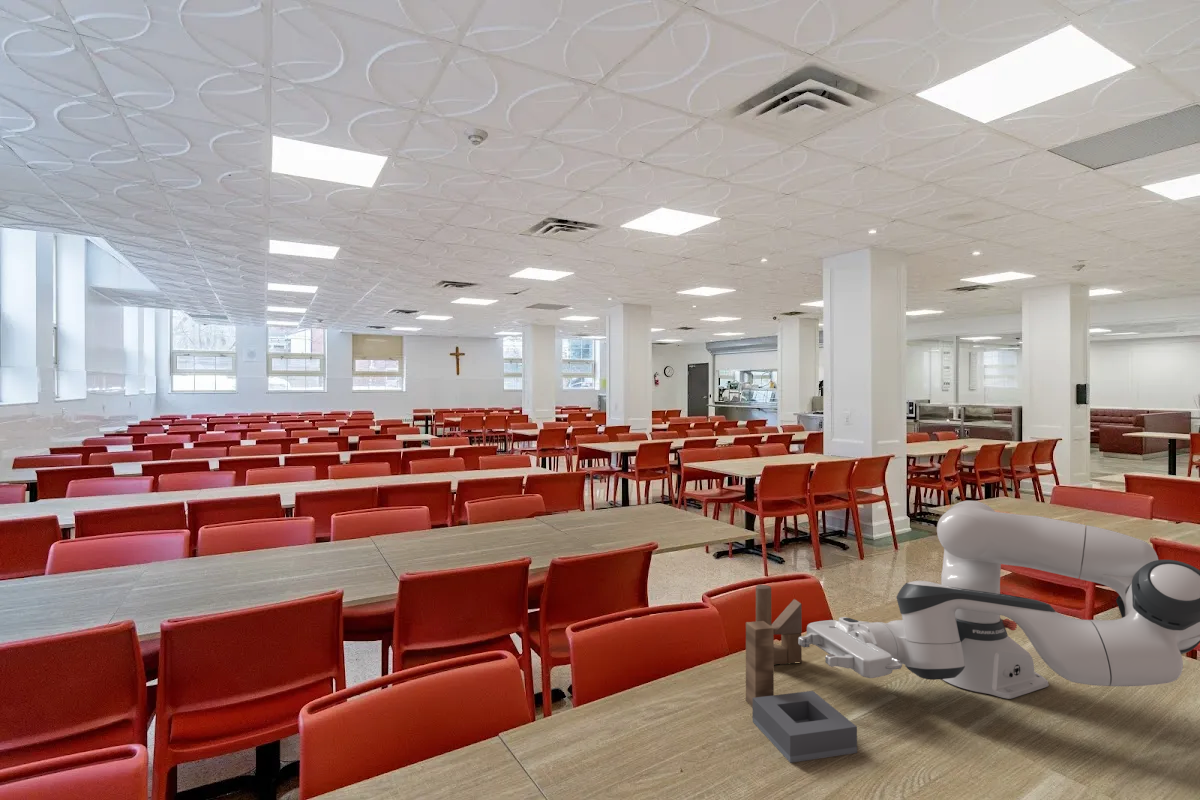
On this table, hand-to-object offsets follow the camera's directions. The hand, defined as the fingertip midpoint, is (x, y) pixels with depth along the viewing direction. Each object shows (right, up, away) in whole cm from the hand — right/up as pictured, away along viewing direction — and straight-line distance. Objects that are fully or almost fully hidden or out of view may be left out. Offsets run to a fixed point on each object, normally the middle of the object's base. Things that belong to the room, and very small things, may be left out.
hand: (813, 651), depth 117 cm
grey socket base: (-7, -9, -14) cm, 18 cm away
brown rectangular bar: (-12, -10, -3) cm, 16 cm away
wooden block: (-2, -10, +17) cm, 20 cm away
